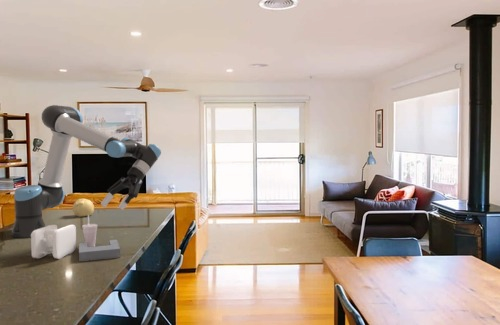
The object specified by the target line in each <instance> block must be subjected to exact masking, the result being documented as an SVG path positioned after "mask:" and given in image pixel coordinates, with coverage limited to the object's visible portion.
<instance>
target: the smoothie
mask: <svg viewBox="0 0 500 325" xmlns="http://www.w3.org/2000/svg"><path fill="white" fill-rule="evenodd" d="M98 226H99V225H98V223H90V215H88V216H87V223H86V224H83V225H81V228H82V230H83V231H82V232H83V238H84V242H87V247H96V243H97V242H96V241H97V239H96V238H97V233H98V231H97V230H98V228H99V227H98Z"/></svg>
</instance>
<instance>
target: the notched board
mask: <svg viewBox="0 0 500 325" xmlns="http://www.w3.org/2000/svg"><path fill="white" fill-rule="evenodd" d="M108 241H109V244H107V245H99V246H97V245H95V247H87V242H85V241H84V242H79V243H78V262H87V261H88V262H89V260H90V261H98V260H106V259H107V260H108V259H117V258H121V248H120V244H119V241H118V239H109V240H108Z"/></svg>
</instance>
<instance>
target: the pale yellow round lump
mask: <svg viewBox="0 0 500 325" xmlns="http://www.w3.org/2000/svg"><path fill="white" fill-rule="evenodd" d="M94 211H95V205H94V203H93V202H92V201H91V200H90V199H88V198H83V197H82V198H78V199H77V200H76V201H74V203H73V205H72V212H73V214H74V215H75V216H77V217H78V218H83V217H88V215H89V216H92V215H93V213H94Z"/></svg>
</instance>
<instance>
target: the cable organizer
mask: <svg viewBox="0 0 500 325" xmlns="http://www.w3.org/2000/svg"><path fill="white" fill-rule="evenodd" d="M45 226H46V227H43V228H40V229H37V230H34V231H33V232H32V234H31V237H30V246H31V248H30V249H31V257H32V258H33V259H39V260H40V259H42V258H43V257H45V256H47V255H51V256H53V258H54V259H57V260H61V259H63V258H64V257H65V256H67V255H71V254H72V253H74V251H75V250H76V249H77V228H76V225H75V224H67V225H66V226H63V227H60V228H58V226H57V224H49V225H45Z"/></svg>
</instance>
